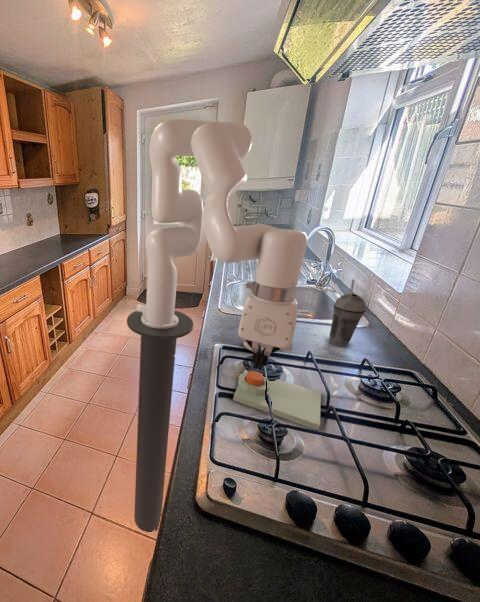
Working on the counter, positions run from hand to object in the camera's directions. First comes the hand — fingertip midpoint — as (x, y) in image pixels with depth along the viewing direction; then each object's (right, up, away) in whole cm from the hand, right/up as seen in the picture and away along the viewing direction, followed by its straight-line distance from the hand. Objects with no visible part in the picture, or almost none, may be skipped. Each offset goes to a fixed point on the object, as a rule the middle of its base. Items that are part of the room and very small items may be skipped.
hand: (258, 366), depth 68 cm
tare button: (0, -4, +2) cm, 4 cm away
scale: (+4, -7, 0) cm, 8 cm away
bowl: (+10, +1, +21) cm, 23 cm away
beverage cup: (+36, +2, +22) cm, 42 cm away
